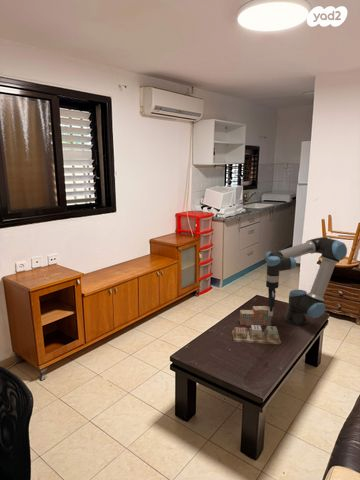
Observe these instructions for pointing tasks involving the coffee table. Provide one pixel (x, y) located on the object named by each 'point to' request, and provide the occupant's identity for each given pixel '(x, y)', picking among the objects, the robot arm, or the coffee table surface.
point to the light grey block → (271, 330)
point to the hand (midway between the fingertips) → (270, 315)
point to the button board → (255, 337)
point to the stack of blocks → (255, 316)
